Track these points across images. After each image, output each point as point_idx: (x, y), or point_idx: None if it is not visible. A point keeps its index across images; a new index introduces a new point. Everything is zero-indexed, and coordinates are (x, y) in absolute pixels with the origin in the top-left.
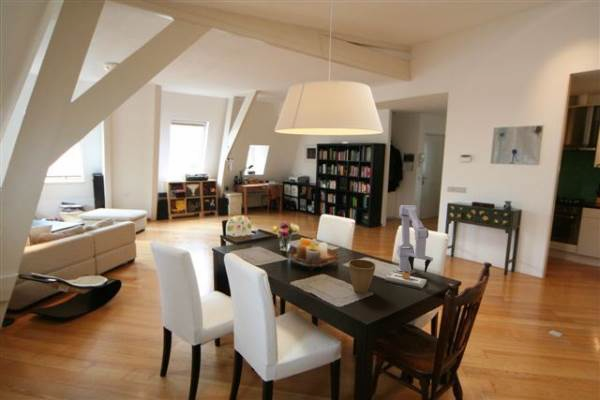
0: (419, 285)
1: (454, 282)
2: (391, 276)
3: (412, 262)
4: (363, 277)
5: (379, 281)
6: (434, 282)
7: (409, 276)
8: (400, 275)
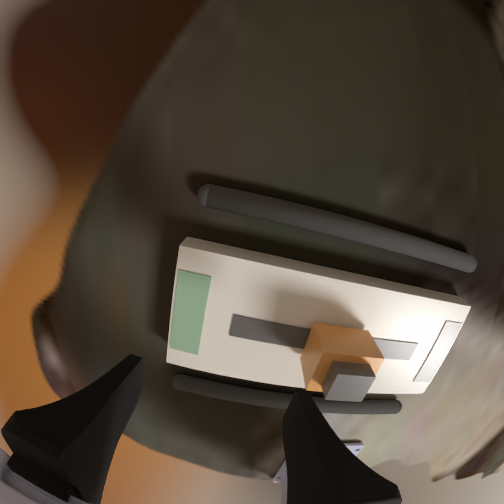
0: (210, 246)
1: (49, 382)
2: (438, 320)
3: (312, 470)
4: None
5: (494, 239)
6: None
7: (307, 353)
8: None
